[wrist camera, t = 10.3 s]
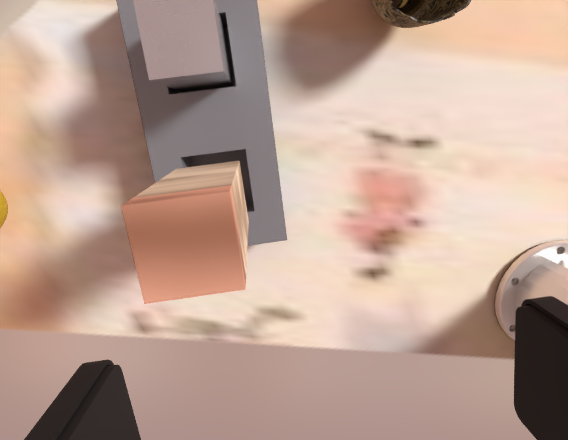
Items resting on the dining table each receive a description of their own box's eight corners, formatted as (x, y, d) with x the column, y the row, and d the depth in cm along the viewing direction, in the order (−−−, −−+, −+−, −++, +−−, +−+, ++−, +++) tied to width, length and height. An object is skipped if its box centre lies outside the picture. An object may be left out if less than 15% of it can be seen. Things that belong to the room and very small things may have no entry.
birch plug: (248, 221, 28) (245, 289, 17) (187, 229, 28) (144, 303, 17) (239, 160, 27) (229, 191, 16) (175, 168, 27) (121, 205, 16)
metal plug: (233, 85, 34) (223, 71, 23) (183, 92, 34) (149, 80, 23) (225, 31, 33) (210, -12, 22) (173, 37, 33) (132, -3, 22)
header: (282, 224, 38) (287, 239, 33) (181, 238, 38) (170, 256, 33) (252, -14, 33) (252, -37, 28) (133, -1, 32) (111, -21, 27)
